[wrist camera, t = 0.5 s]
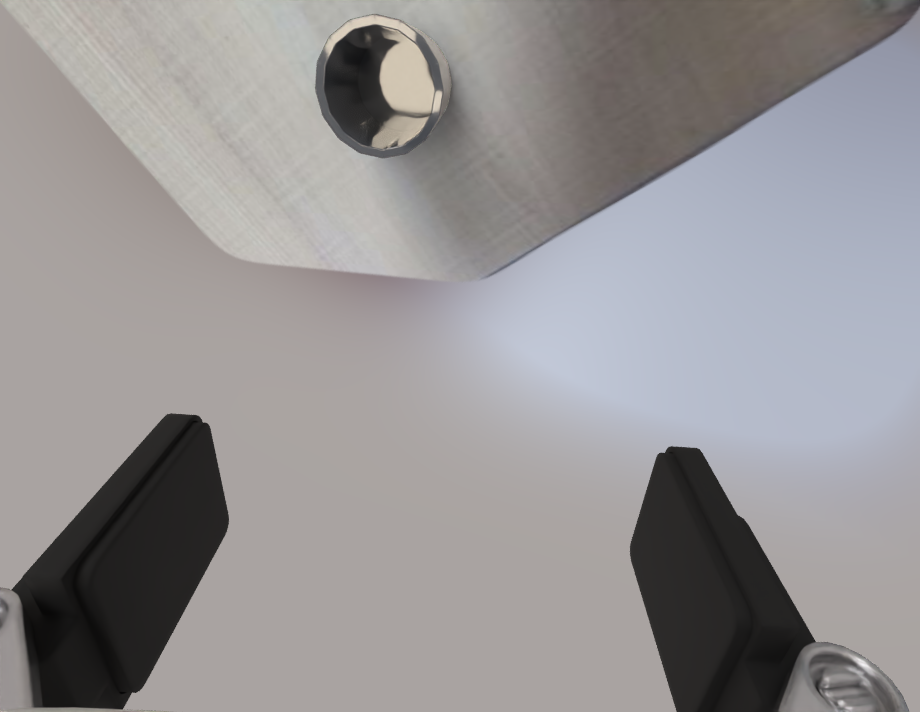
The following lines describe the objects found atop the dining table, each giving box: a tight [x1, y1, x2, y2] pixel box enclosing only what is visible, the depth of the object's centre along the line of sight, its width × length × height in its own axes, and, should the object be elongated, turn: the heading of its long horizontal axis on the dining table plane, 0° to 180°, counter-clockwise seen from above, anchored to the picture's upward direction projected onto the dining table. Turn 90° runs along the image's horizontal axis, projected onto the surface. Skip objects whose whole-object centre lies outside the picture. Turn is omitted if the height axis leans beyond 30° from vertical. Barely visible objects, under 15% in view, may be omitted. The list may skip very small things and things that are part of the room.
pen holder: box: [315, 14, 452, 158], centre depth 34 cm, size 7×7×10 cm
